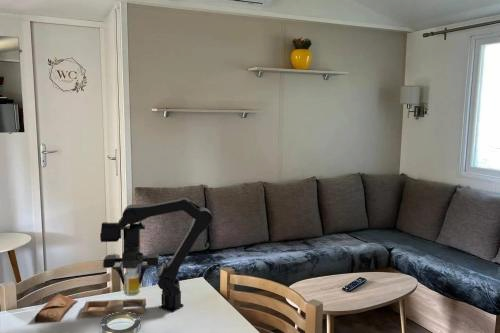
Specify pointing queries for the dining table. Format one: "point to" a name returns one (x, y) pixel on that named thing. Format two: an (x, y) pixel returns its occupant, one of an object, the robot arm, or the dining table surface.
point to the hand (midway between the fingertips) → (131, 283)
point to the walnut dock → (112, 307)
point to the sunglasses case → (55, 309)
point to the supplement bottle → (131, 282)
